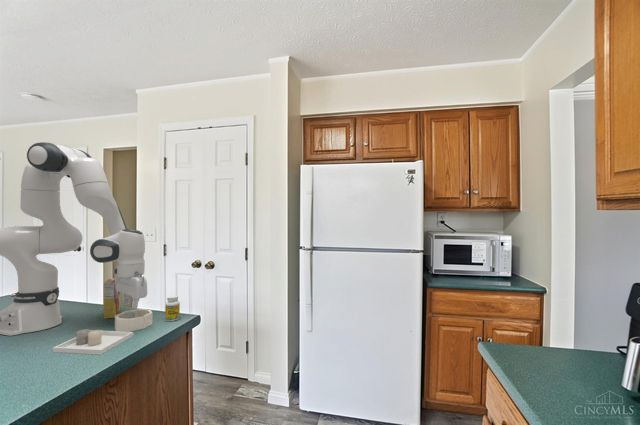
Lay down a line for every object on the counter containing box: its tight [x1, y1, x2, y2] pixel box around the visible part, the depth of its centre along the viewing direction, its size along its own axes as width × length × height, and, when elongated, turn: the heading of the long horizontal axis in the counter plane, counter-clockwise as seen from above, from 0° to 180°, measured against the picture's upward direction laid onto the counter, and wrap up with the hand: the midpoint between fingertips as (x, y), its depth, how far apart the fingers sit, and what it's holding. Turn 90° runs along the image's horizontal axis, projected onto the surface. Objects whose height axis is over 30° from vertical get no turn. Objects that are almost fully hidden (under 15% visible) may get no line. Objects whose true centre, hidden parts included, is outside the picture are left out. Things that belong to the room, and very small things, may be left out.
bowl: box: [114, 308, 153, 332], centre depth 113 cm, size 12×12×5 cm
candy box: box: [103, 277, 121, 320], centre depth 126 cm, size 9×4×15 cm, turn 23°
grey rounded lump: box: [124, 312, 135, 319], centre depth 113 cm, size 4×4×4 cm
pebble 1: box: [75, 328, 91, 345], centre depth 97 cm, size 4×4×4 cm
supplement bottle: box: [164, 294, 181, 322], centre depth 122 cm, size 5×5×10 cm
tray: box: [52, 329, 134, 356], centre depth 97 cm, size 16×14×2 cm
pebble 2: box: [88, 329, 103, 346], centre depth 97 cm, size 4×4×4 cm
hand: (130, 305), depth 114 cm, fingers open, 5 cm apart
